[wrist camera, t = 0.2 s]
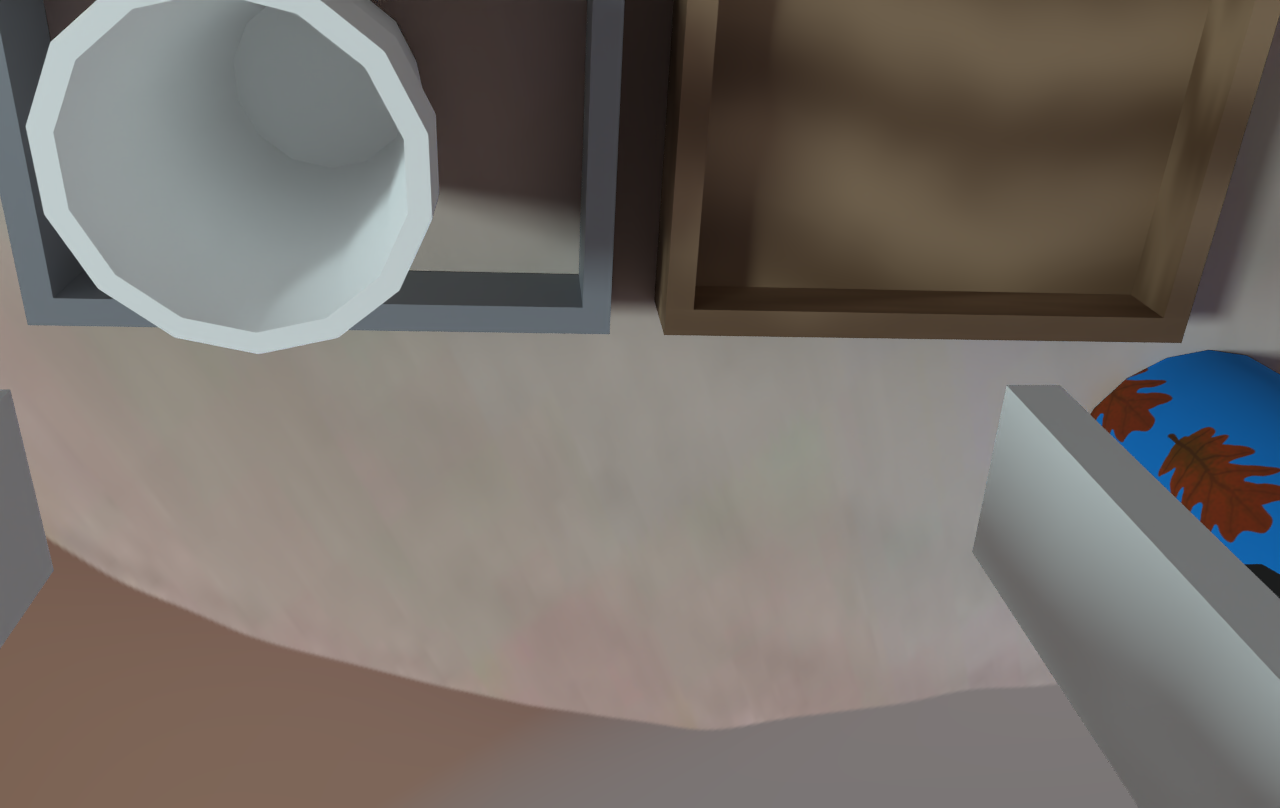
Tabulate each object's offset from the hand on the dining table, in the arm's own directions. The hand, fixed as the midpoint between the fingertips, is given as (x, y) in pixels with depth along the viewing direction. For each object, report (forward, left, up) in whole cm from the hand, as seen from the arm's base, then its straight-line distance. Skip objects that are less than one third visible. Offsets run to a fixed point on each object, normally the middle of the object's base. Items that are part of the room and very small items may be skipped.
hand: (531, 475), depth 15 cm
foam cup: (0, -7, -27) cm, 28 cm away
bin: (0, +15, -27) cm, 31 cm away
